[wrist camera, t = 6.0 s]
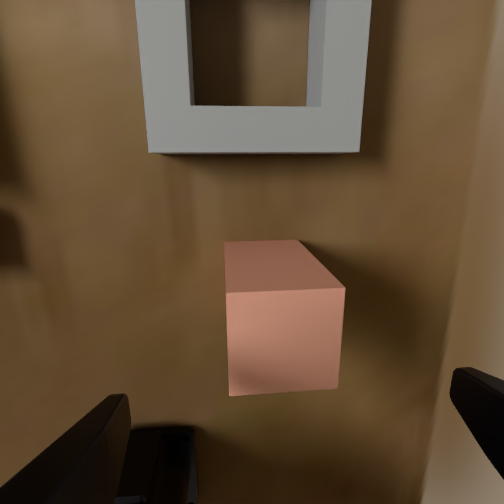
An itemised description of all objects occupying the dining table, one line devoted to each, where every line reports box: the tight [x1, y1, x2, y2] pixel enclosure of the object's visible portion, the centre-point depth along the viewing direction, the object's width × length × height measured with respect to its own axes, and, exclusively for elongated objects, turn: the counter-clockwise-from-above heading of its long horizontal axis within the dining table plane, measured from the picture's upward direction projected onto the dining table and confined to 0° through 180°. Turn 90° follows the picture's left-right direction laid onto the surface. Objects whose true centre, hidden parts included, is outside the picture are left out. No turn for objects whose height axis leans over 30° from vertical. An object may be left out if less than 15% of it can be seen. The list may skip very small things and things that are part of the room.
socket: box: [135, 0, 372, 154], centre depth 13 cm, size 9×9×2 cm
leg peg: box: [224, 240, 345, 396], centre depth 14 cm, size 4×4×7 cm
